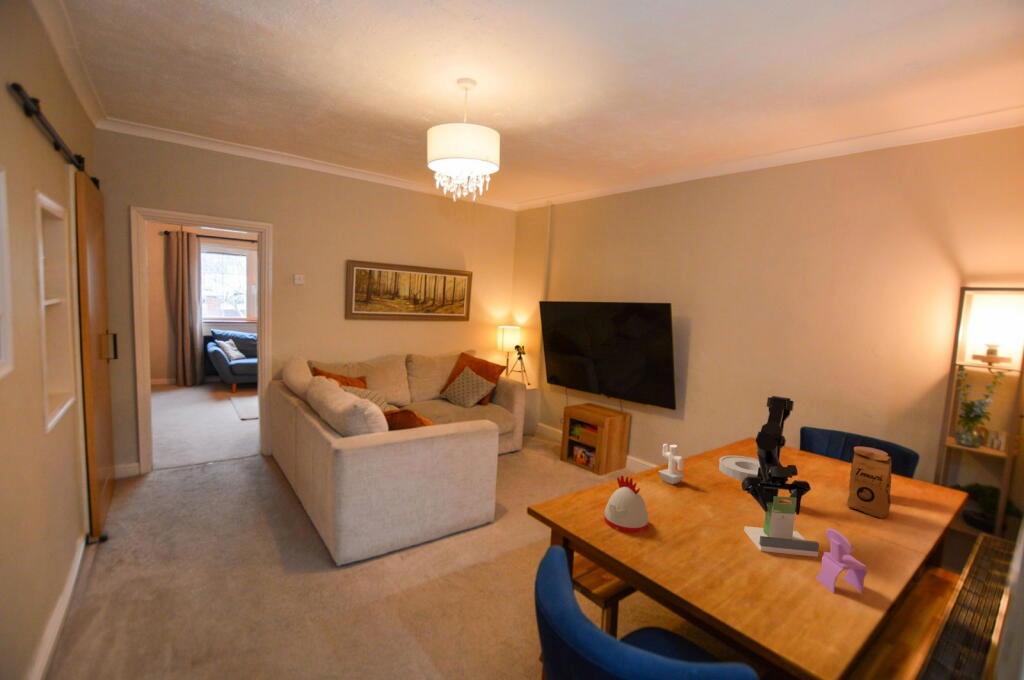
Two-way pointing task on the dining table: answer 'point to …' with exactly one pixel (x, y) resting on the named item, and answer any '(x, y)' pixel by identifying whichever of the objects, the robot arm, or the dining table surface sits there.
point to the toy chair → (840, 563)
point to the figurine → (672, 465)
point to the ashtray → (739, 466)
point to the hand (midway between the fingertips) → (782, 513)
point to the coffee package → (870, 483)
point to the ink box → (780, 518)
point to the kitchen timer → (626, 508)
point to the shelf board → (782, 543)
